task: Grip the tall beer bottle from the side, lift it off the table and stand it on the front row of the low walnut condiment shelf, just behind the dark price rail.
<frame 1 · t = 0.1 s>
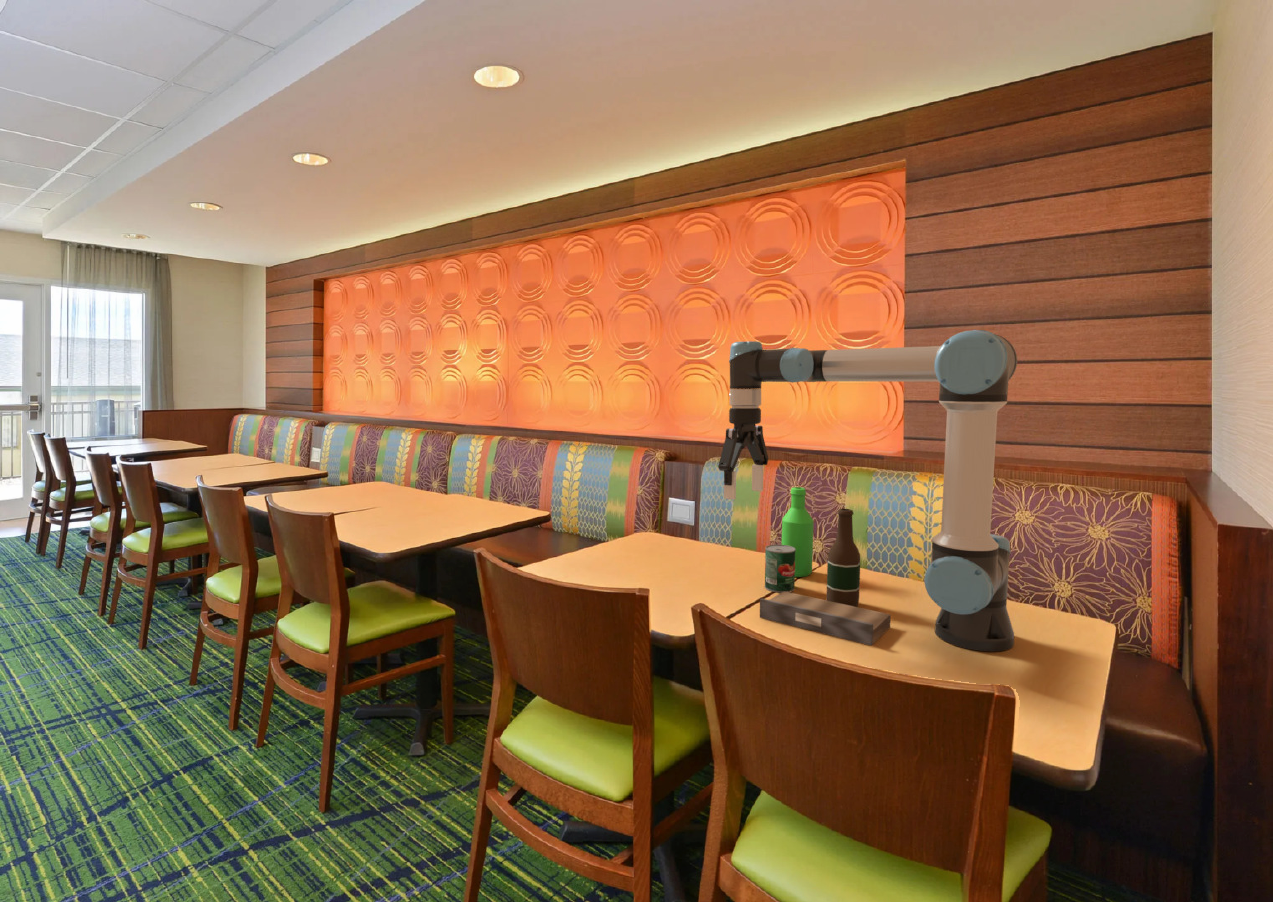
hand: (744, 494, 156), 28 cm above the table, tool pointing down, fingers open, 13 cm apart
bottle: (796, 574, 186), on the table
beer bottle: (842, 605, 160), on the table
condiment shelf: (824, 621, 149), on the table
canned tomato: (779, 588, 173), on the table
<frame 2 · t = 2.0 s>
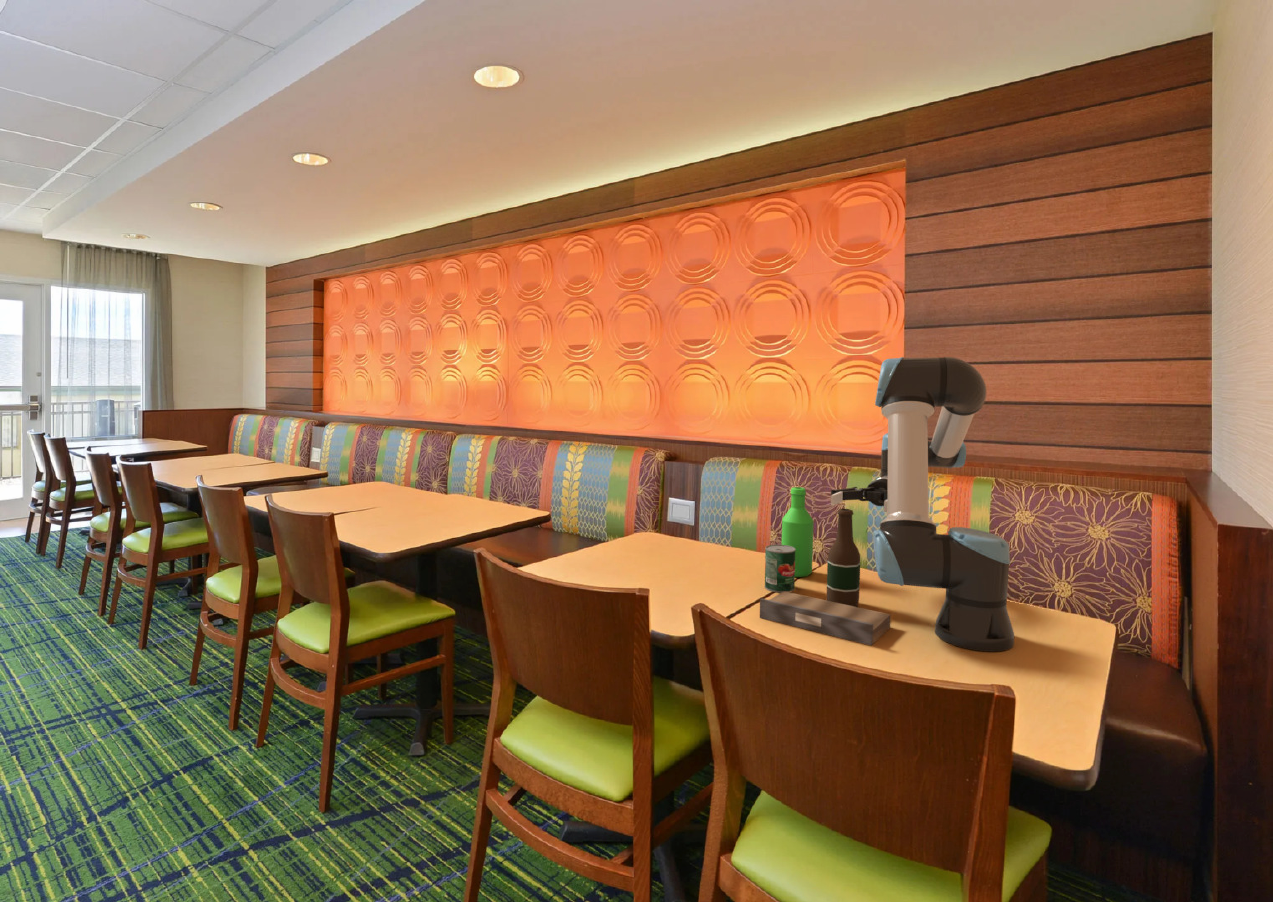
hand: (858, 503, 165), 24 cm above the table, tool horizontal, fingers open, 13 cm apart
nothing on the table moved.
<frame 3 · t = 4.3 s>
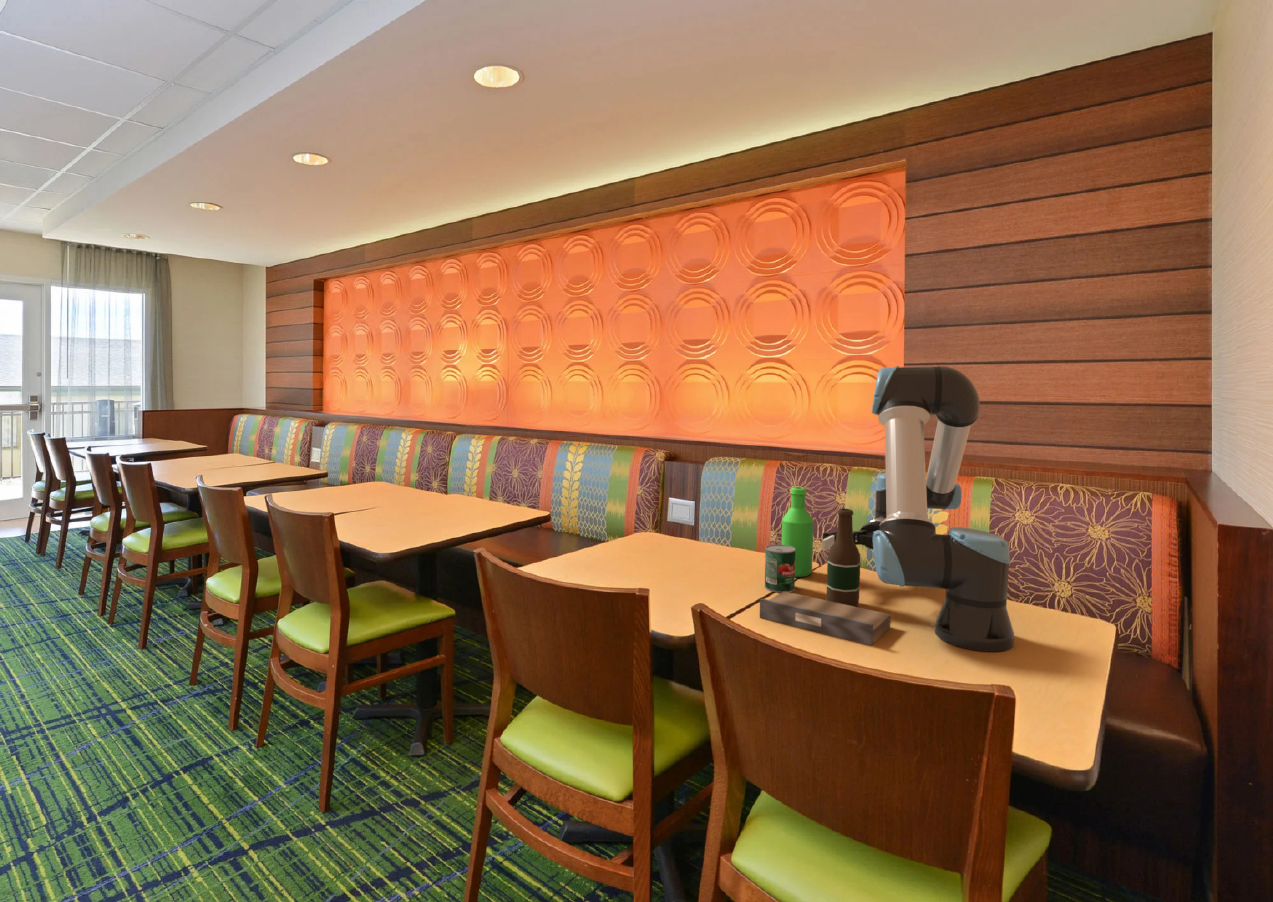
hand: (849, 549, 162), 13 cm above the table, tool horizontal, fingers open, 13 cm apart
nothing on the table moved.
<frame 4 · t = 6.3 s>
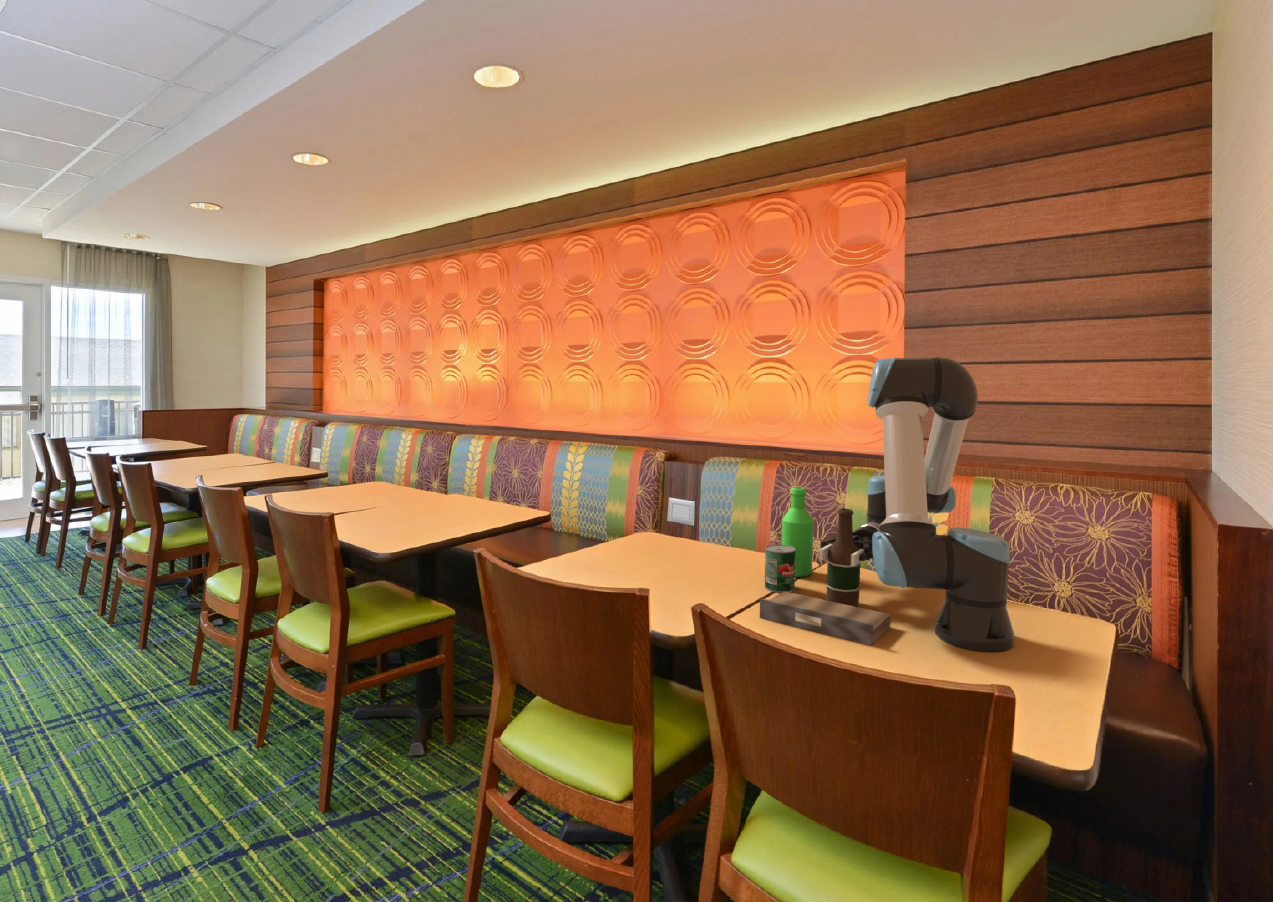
hand: (836, 557, 155), 13 cm above the table, tool horizontal, fingers closed on beer bottle, 7 cm apart
beer bottle: (842, 605, 160), on the table, touching gripper
everything else where it was.
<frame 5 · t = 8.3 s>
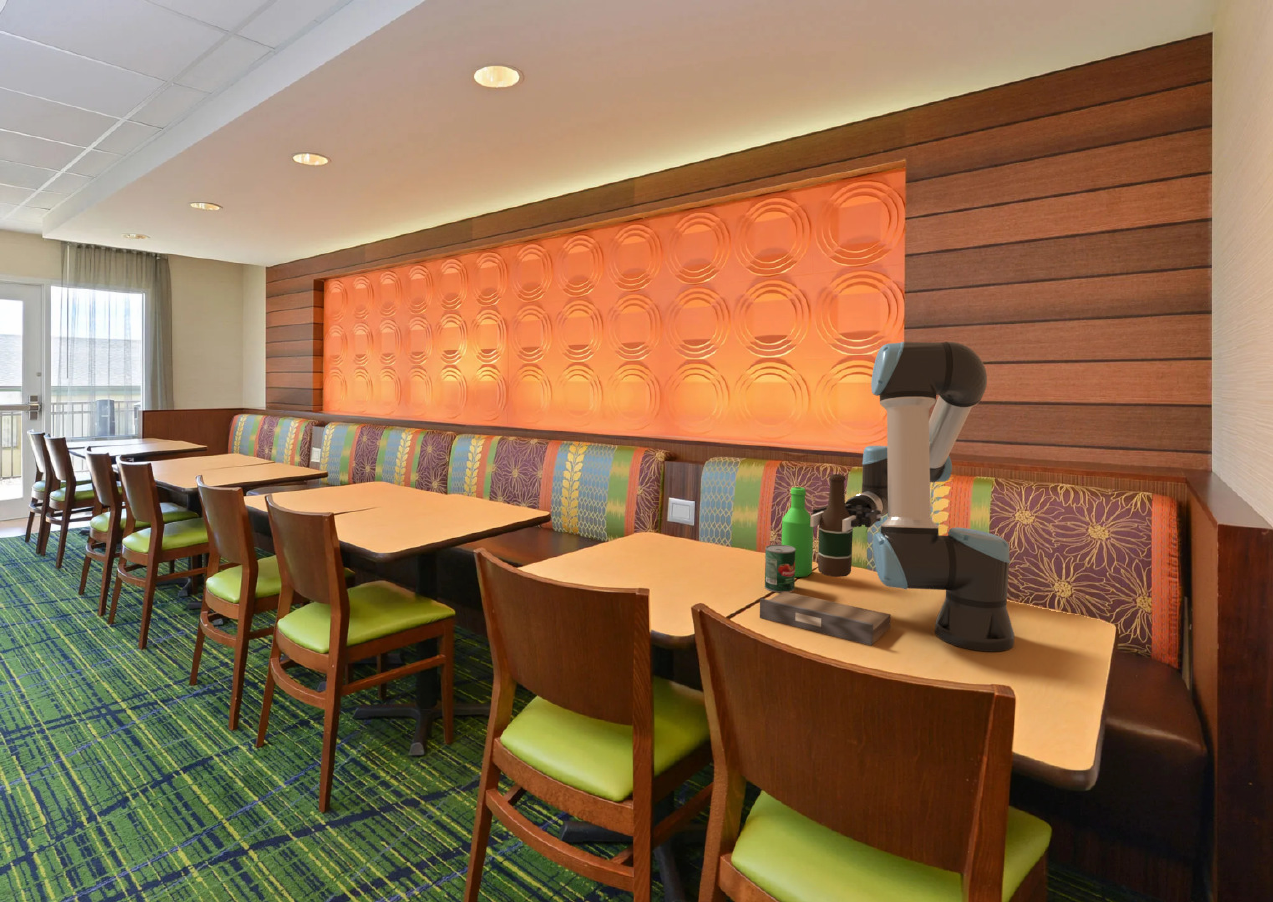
hand: (827, 523, 151), 22 cm above the table, tool horizontal, fingers closed on beer bottle, 7 cm apart
beer bottle: (834, 573, 156), point 9 cm above the table, touching gripper
everything else where it was.
when the fingers open (17 cm above the table, at t = 10.5 s): beer bottle drops 1 cm, resting on condiment shelf.
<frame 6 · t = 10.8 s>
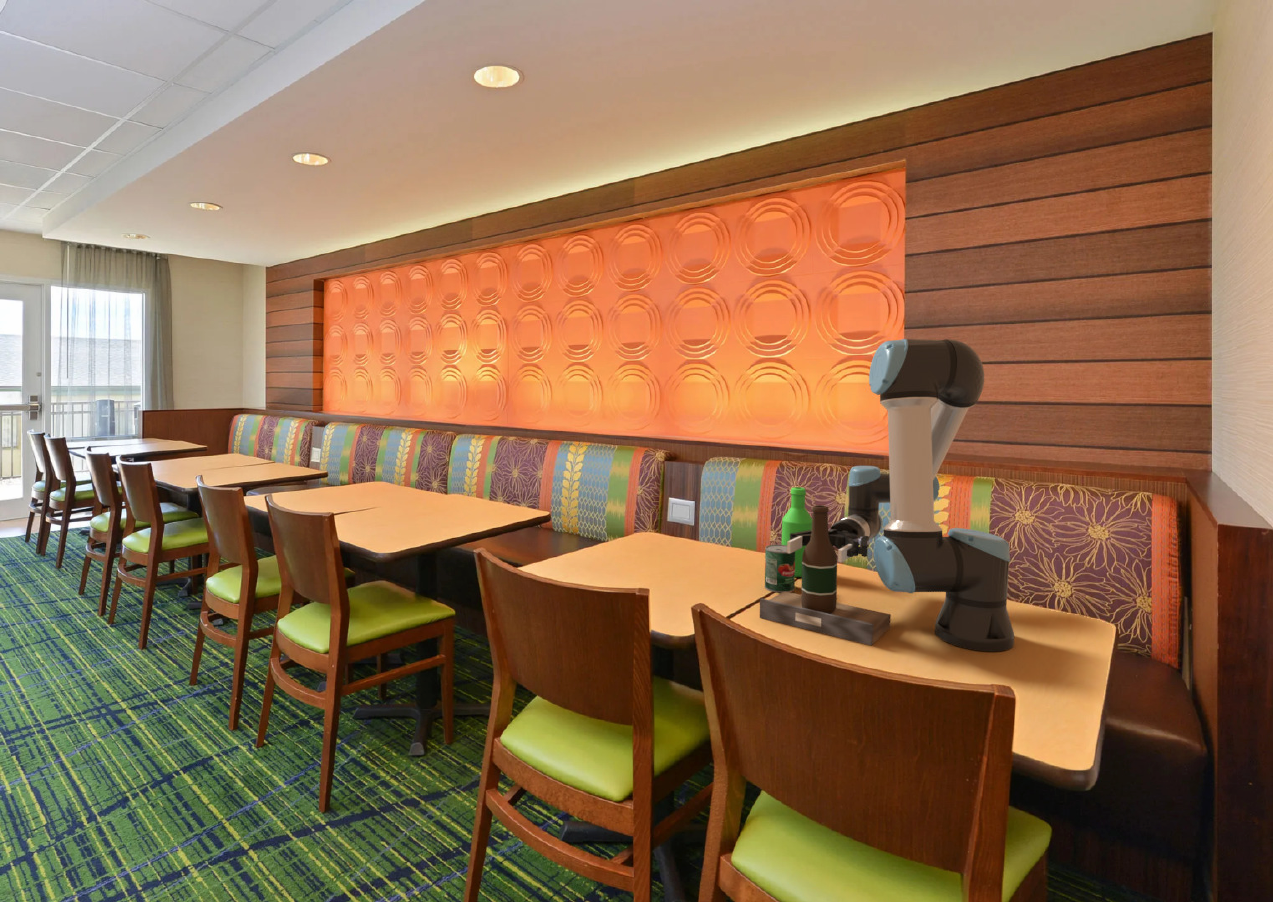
hand: (813, 551, 143), 17 cm above the table, tool horizontal, fingers open, 11 cm apart
beer bottle: (818, 609, 148), point 3 cm above the table, touching condiment shelf
everything else where it was.
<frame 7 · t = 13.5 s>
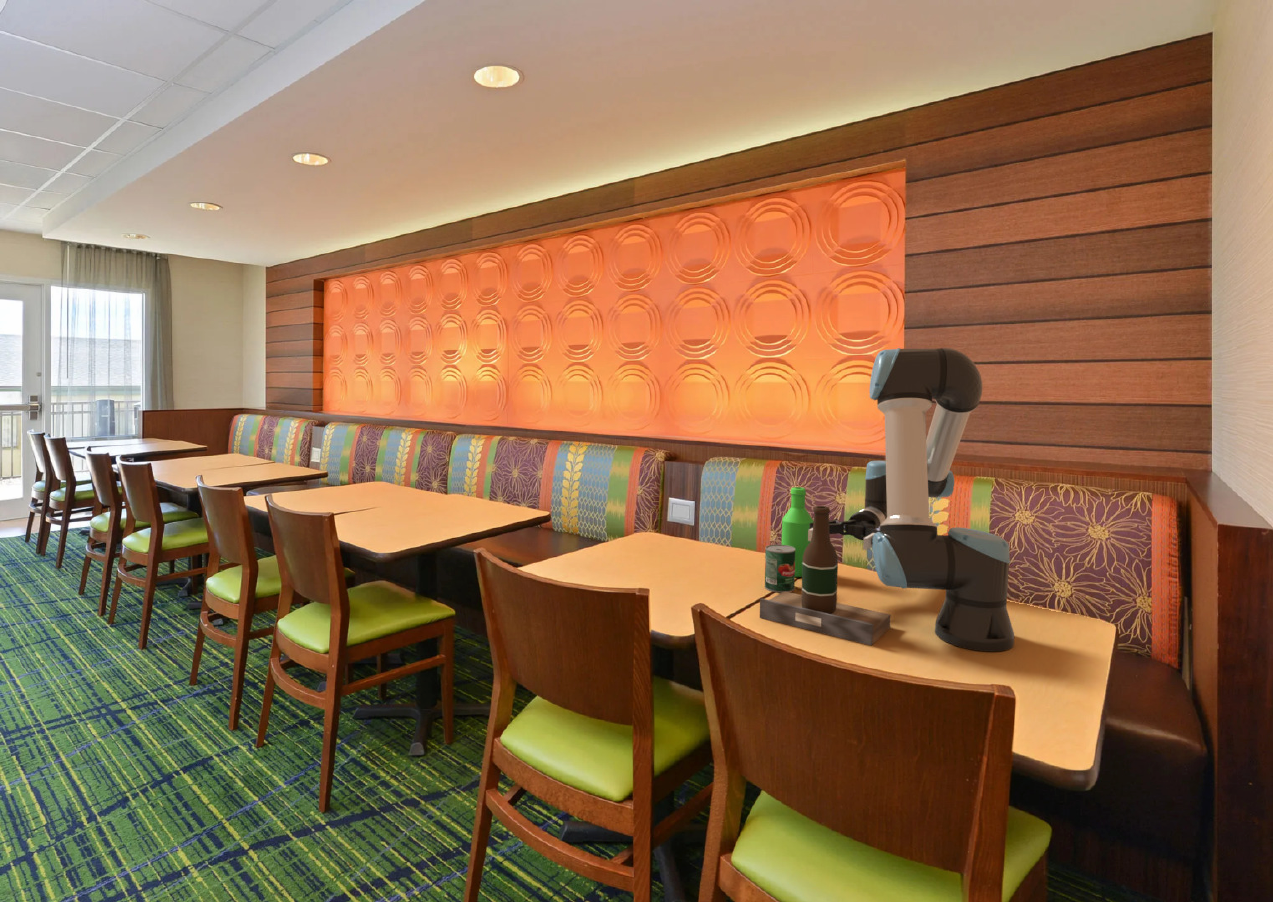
hand: (836, 539, 154), 18 cm above the table, tool horizontal, fingers open, 13 cm apart
nothing on the table moved.
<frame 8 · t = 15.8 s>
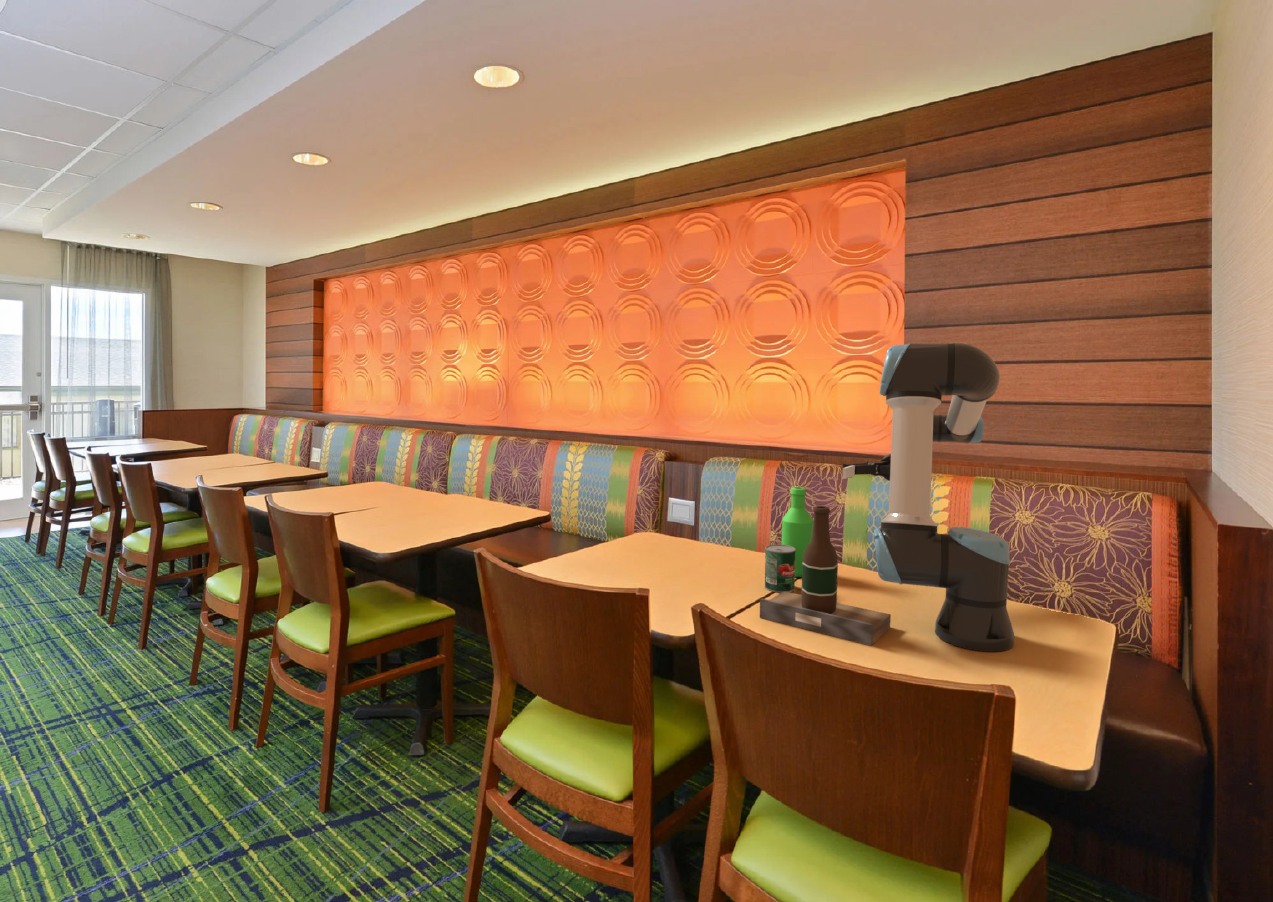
hand: (871, 475, 158), 32 cm above the table, tool horizontal, fingers open, 13 cm apart
nothing on the table moved.
at the end: beer bottle inside the target area (0.2 cm from its centre), point 2.8 cm above the table; beer bottle tilted 0°; the gripper is holding nothing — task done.
